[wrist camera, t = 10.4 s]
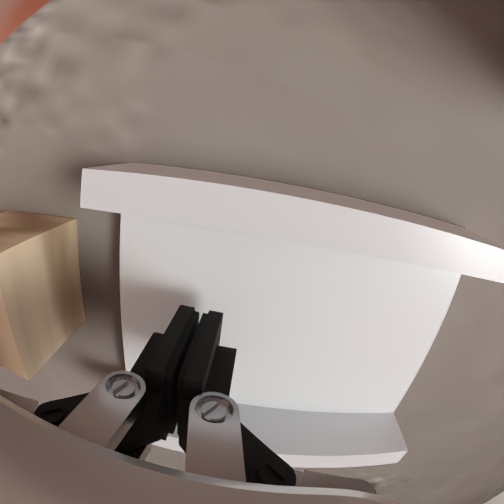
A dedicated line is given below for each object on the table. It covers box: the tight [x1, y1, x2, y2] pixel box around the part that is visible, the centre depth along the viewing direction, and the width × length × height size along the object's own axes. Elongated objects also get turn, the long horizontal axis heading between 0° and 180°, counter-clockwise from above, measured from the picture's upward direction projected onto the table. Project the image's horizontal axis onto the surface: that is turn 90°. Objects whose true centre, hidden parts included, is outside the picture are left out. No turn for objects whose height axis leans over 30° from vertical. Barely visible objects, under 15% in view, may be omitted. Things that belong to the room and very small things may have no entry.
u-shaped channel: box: [80, 163, 504, 468], centre depth 11 cm, size 15×12×4 cm
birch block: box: [0, 210, 86, 381], centre depth 10 cm, size 6×6×6 cm
